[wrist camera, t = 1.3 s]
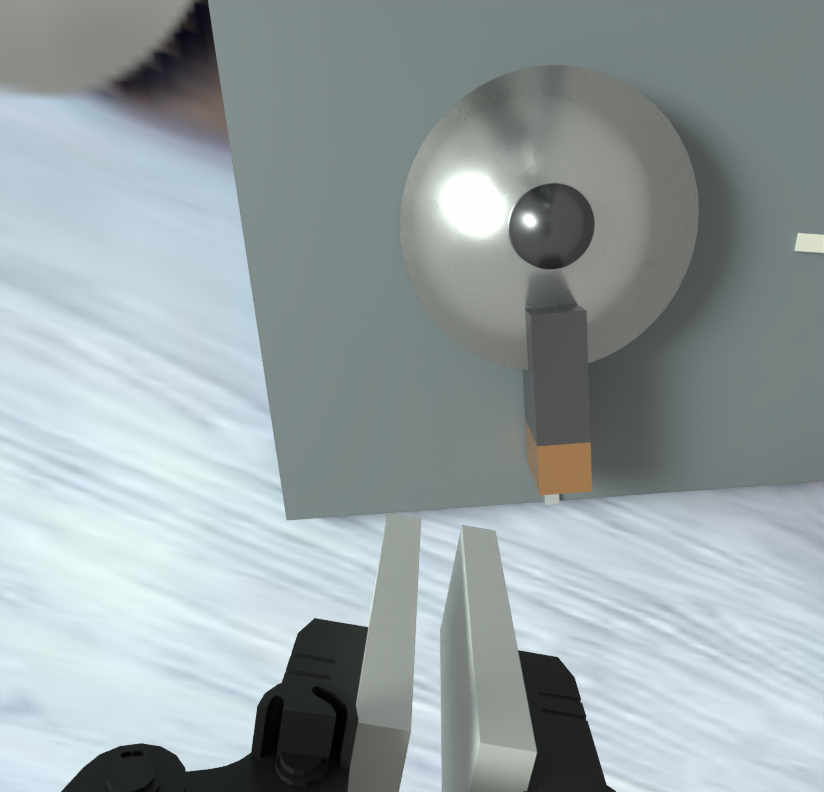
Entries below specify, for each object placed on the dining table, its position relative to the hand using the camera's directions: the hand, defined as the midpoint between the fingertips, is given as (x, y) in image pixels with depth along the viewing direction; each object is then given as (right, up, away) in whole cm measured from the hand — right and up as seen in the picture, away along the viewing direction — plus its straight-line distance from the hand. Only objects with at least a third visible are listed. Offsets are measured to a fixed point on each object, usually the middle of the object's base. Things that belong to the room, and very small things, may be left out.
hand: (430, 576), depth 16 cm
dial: (+5, +9, +13) cm, 16 cm away
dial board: (+5, +11, +14) cm, 19 cm away
